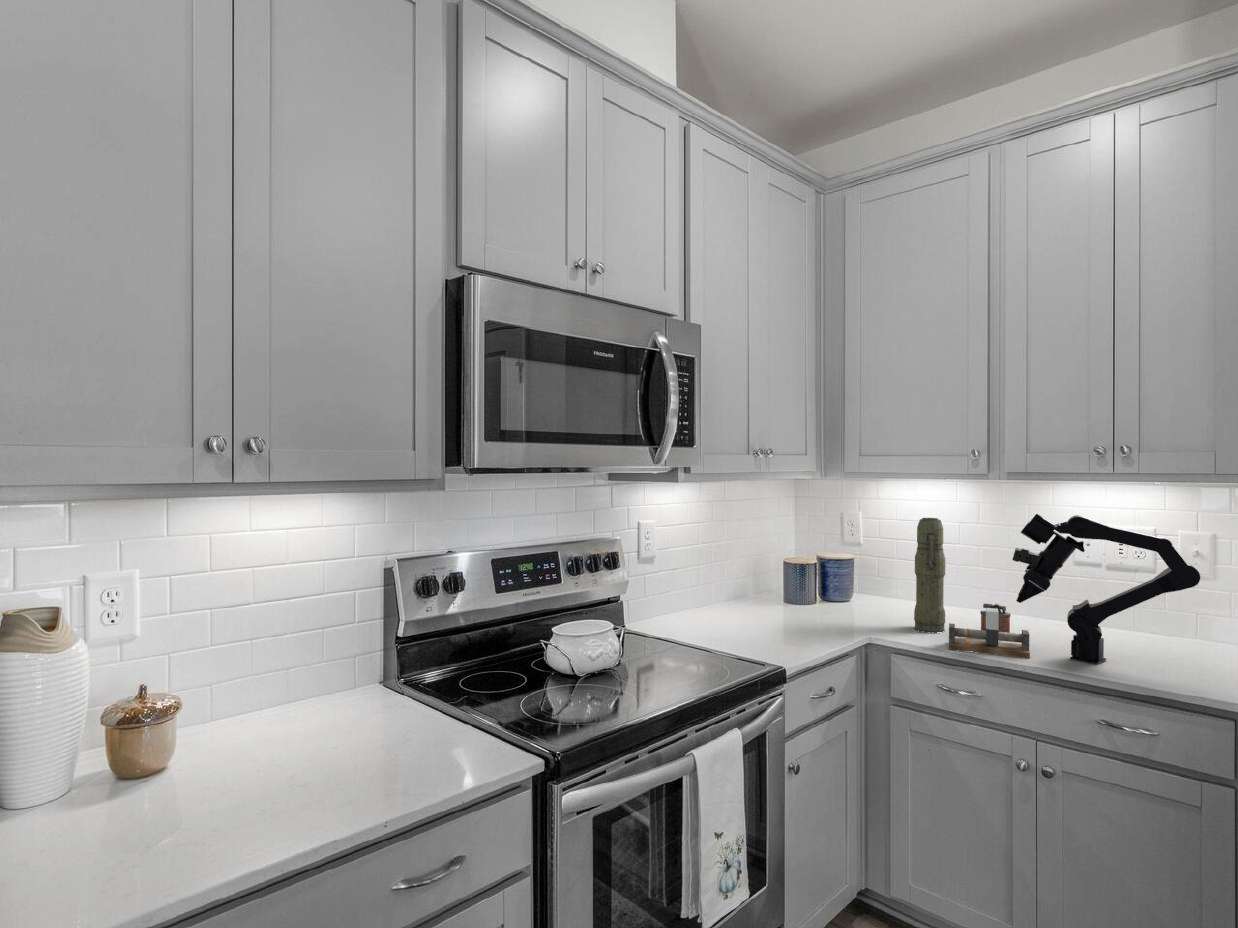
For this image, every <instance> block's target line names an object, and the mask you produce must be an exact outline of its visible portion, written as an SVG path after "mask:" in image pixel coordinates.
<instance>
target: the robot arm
mask: <svg viewBox="0 0 1238 928" xmlns="http://www.w3.org/2000/svg"><path fill="white" fill-rule="evenodd" d="M1020 533H1021V534H1022V535H1023V536H1025V537H1027V538H1029V539H1030V540H1032V541H1033V542H1035V543H1036V544H1037V545H1041V544H1045V545H1046V544H1047V543H1048V542H1049V540H1050V539H1051V538H1052V537H1053V538H1052V540H1051V541H1050V542H1049V544H1047V545H1046V547H1045V548H1044V549H1043V550H1040V552H1039V553H1035V552H1033V551H1030V550H1029V549H1025V548H1018V547H1016V548H1015V549H1014V552H1013V556H1012V561H1014V562H1017V563H1018V562H1020V563H1023V564H1026V565H1027V566H1026V569H1025V571H1024V572H1025V573H1024V575H1023V577H1022V579H1023V584H1022V586H1021V589H1020V590H1019V592H1018V595H1017V598H1016V602H1017V603H1019V604H1021V603H1023V602H1025V601H1027V600H1029V599H1031V598H1033V597H1035V596H1037V595H1039V594H1041V593H1043V592H1045V591H1047V590H1048V589H1049V588H1050V586H1051V580H1052V579H1053V578H1054V576H1055V574H1057V572H1058V571H1059V570H1060V569H1061V568H1062V567H1064V564H1065V563H1066V561H1067V560H1068V559H1069V558H1070V557H1071V555H1072V554H1073V553H1074V552H1075V551H1076V550H1078V551H1080V552H1082V553H1084V552H1085V551H1086V550H1085V547H1084V546H1085V545H1084V543H1085V542H1084V541H1083V540H1081V541H1078V540H1077V539H1084V540H1086V539H1087V540H1100V541H1101V540H1102V541H1104V540H1105V541H1109V542H1114V543H1117V544H1122V545H1125V546H1129V547H1135V548H1139V549H1143V550H1147V551H1152V552H1156V553H1158V555H1159V556H1160V558H1161V559H1162V561H1163V563H1165V564H1166V566H1167V568H1166V569H1165V568H1164V569H1163V570H1162V571H1161V572H1160V573H1158V574H1157V575H1156V576H1154V578H1152V579H1150V580H1148V581H1146V582H1143V583H1140V584H1139V585H1136V586H1134V587H1132V588H1129V589H1126V590H1125V591H1122V592H1120V593H1118V594H1115V595H1114V596H1111V597H1109V598H1106V599H1104V600H1103V601H1099V602H1095V603H1090V601H1089V599H1085V600H1084V601H1082V602H1080V603H1079V604H1073V605H1072V608H1071V609H1070V610H1069V611H1068V612H1067V617H1066V620H1067V625H1068V627H1069V628H1070V630H1072V631H1073V632H1075V634H1073V636H1072V637H1073V638H1072V640H1070V641H1071V643H1070V645H1071V646H1070V655H1071V656H1070V660H1074V661H1079V662H1084V663H1088V664H1093V665H1098V664H1101V663H1103V662H1106V661H1107V658H1105V657H1104V653H1105V652H1104V649H1105V648H1104V645H1105V644H1104V643H1105V641H1104V638H1103V637H1102V636H1103V633H1102V629H1101V627H1100V626H1099V625H1100V624H1101V623H1103V622H1104V621H1105V620H1107V618H1110V617H1111V616H1113V615H1116V614H1118V613H1121V612H1123V611H1125V610H1127V609H1130V608H1132V607H1134V606H1137V605H1139V604H1141V603H1143V602H1147V601H1148V600H1151V599H1154V598H1155V597H1158V596H1160V595H1163V594H1167V593H1172V592H1173V593H1174V592H1178V591H1183V590H1187V589H1191V588H1194V587H1196V586H1197V585H1198V584H1199V583H1200V581H1201V574H1200V572H1199V570H1198V569H1197V568H1196V567H1194V565H1193V564H1191V563H1189V562H1186V561H1185V559H1183V557H1182V556H1181V554H1180V553H1179V552H1178V551H1177V550H1176V548H1175V547H1174V546H1173V543H1172V541H1170V539H1168V538H1166V537H1163V536H1154V535H1151V534H1147V533H1141V532H1137V531H1132V530H1129V529H1123V528H1120V527H1115V526H1111V525H1107V524H1104V523H1102V522H1099V521H1097V520H1095V519H1093V518H1089V517H1087V516H1085V515H1082V514H1081V515H1080V514H1077V515H1073V516H1071V517H1070V518H1068V520H1067V521H1064V522H1061V523H1059V522H1058V523H1056V524H1054V523H1052V522H1050V521H1049V520H1048V519H1046V518H1044V517H1043V516H1042V515H1041V514H1039V513H1035V514H1034V516H1033V517H1032V518H1031V519H1030V521H1028V522H1027V523H1026V524H1025V525H1024V526H1023V528H1022V530H1020ZM1061 534H1065V535H1067V534H1069V535H1067V536H1066V537H1064V536H1063V535H1061ZM1054 535H1055V536H1054ZM1074 538H1075V539H1074Z"/></svg>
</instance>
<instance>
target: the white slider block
mask: <svg viewBox="0 0 1238 928" xmlns="http://www.w3.org/2000/svg"><path fill="white" fill-rule="evenodd" d="M985 611H986V639H985V641H986V645H996V646H998V642H999V640H998V627H999V612H998V609H995V608H985Z"/></svg>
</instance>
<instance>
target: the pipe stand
mask: <svg viewBox="0 0 1238 928" xmlns="http://www.w3.org/2000/svg"><path fill="white" fill-rule="evenodd" d="M1012 642H1014V643H1012ZM948 650H949V651H955V650H959V652H964V651H973V652H972V653H974V652H978V654H984V653H987V654H986V655H994V654H997V655H996V656H1003V655H1005V656H1006V657H1013V656H1014V657H1013V658H1023V657H1024V659H1031V652H1030V632H1029V630H1027V629H1021V633H1016V632H1010V633H1007V632H998V646H996V645H986V631H985V630H981V629H973V628H972V629H971V628H963V627H962V628H961V627H956V624H955V623H951V622H949V623H948ZM1005 656H1004V657H1005Z"/></svg>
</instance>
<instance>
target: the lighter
mask: <svg viewBox="0 0 1238 928" xmlns="http://www.w3.org/2000/svg"><path fill="white" fill-rule="evenodd" d="M982 608H984V609H986V608H995V609H998V612H999V627H998V632H1007V633H1011V632H1010V631H1011V626H1010V625H1011V621H1010V619H1011V613H1009V612H1006V611H1007V606H1006V605H1000V604H999V603H995V604H992V603H983V604H982ZM980 630H985V631H986V610H980Z"/></svg>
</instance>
